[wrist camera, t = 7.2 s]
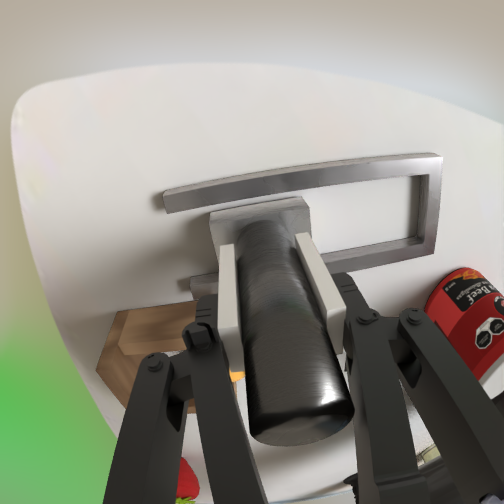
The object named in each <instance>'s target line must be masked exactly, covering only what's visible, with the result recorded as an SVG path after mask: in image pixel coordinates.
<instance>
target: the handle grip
mask: <svg viewBox="0 0 504 504" xmlns="http://www.w3.org/2000/svg"><path fill="white" fill-rule="evenodd" d="M343 482H344V483H345V484H351V486H353V489H352V490H353V493H354V495H355V497H354V498H355V499H356V504H359V487H358V473H356V474H354V475H352V476H350V477H348V478H346V479H345V480H344V481H343Z"/></svg>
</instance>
